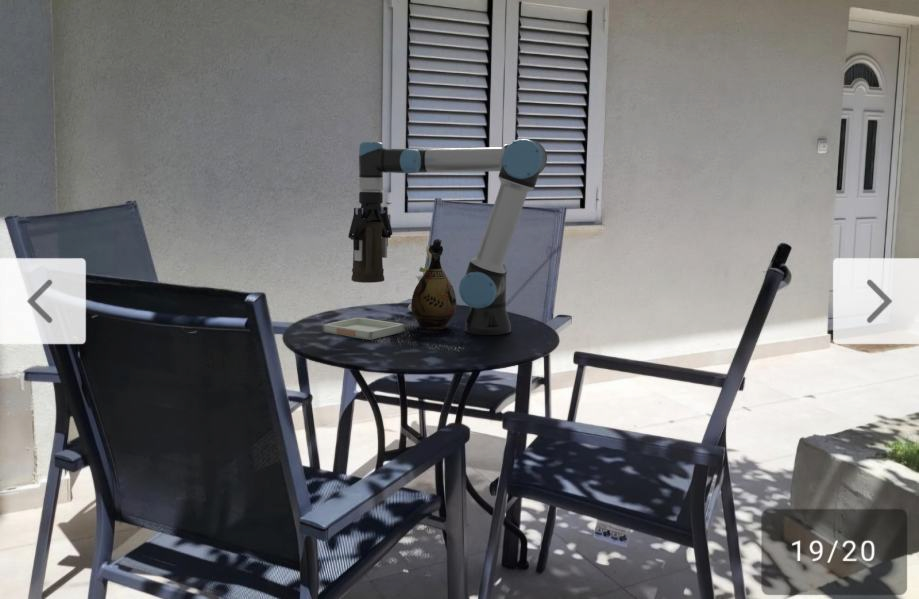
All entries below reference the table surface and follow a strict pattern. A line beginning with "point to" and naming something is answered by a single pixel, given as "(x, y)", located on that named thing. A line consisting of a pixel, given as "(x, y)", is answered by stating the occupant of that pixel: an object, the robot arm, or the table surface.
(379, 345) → the table surface
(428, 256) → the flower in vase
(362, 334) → the tray
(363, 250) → the beer stein
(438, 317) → the ceramic jug
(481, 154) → the robot arm
